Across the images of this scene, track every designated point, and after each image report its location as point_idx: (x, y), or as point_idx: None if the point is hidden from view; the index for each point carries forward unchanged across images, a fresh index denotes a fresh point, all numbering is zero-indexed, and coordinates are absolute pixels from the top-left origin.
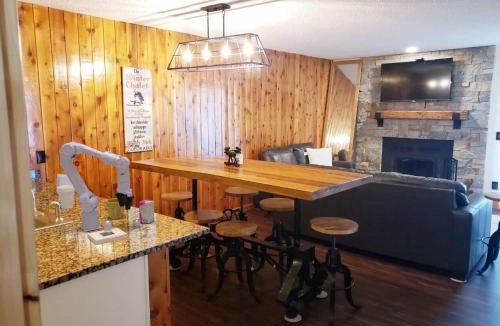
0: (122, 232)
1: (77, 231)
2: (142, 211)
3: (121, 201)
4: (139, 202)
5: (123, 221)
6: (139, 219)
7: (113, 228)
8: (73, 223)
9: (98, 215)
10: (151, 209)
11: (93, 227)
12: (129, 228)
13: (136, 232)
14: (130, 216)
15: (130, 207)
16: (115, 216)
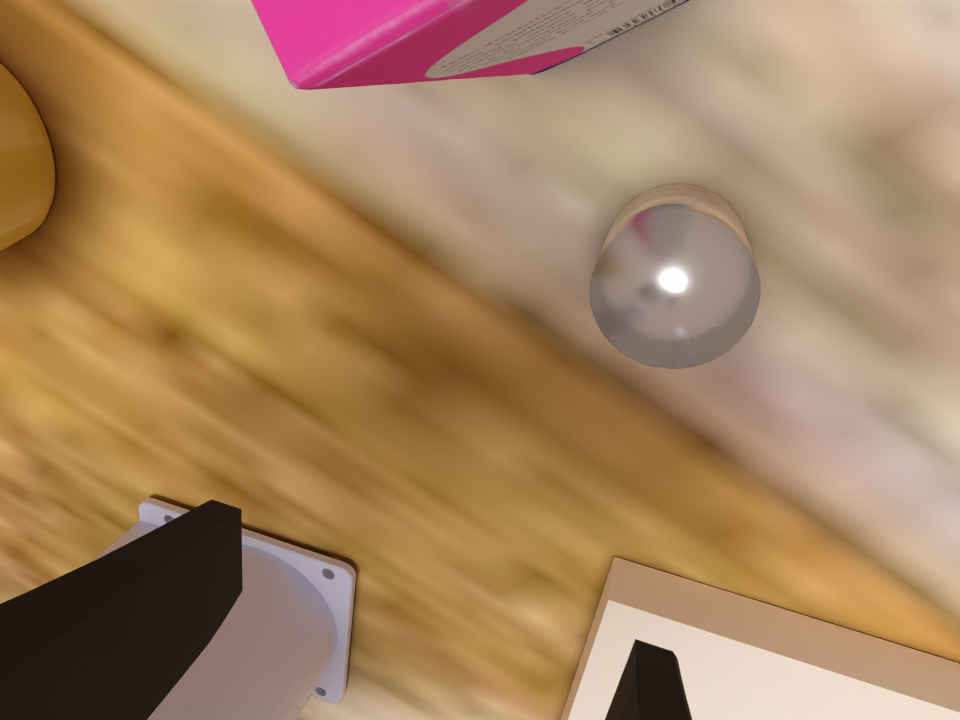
0: (897, 715)
1: None
2: (557, 30)
3: (128, 680)
4: (332, 80)
5: (233, 202)
6: (680, 216)
7: (602, 643)
8: (4, 572)
9: (195, 689)
10: None
11: (327, 658)
12: (640, 380)
13: (936, 455)
14: None
15: (688, 709)
16: (21, 219)
